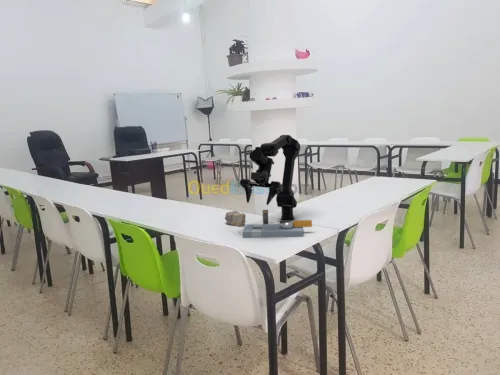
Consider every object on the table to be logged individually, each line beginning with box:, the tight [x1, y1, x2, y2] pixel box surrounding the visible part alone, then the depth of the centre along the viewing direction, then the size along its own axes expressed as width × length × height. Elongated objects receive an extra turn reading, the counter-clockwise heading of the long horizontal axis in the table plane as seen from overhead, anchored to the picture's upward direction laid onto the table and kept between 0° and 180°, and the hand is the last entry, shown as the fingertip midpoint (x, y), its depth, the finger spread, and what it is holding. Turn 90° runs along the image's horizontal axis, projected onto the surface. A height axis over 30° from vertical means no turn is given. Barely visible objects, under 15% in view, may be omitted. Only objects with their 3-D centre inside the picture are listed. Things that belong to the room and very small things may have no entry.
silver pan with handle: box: [278, 219, 313, 229], centre depth 171 cm, size 6×14×3 cm, turn 84°
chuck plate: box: [242, 223, 304, 239], centre depth 173 cm, size 12×26×2 cm, turn 84°
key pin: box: [261, 209, 270, 224], centre depth 182 cm, size 3×3×8 cm
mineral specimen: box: [224, 210, 247, 227], centre depth 190 cm, size 13×7×6 cm, turn 54°
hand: (257, 203), depth 168 cm, fingers open, 9 cm apart
